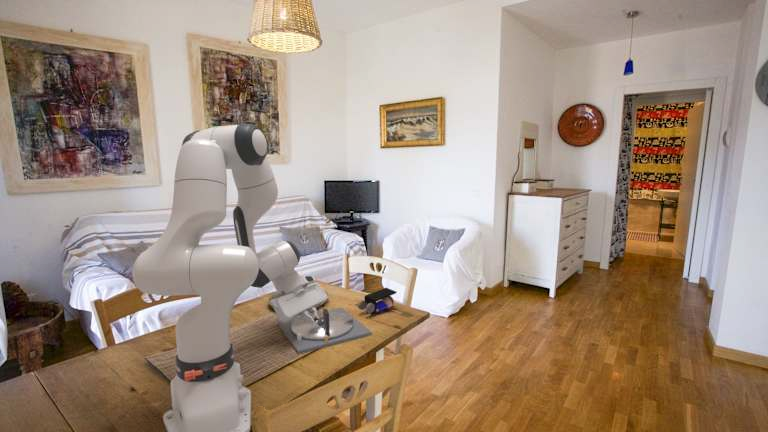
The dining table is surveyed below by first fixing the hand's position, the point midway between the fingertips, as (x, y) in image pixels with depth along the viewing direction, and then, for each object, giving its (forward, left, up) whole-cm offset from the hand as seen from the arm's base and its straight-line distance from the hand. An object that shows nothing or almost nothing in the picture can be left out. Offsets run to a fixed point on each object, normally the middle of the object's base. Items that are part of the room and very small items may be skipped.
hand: (315, 322), depth 121 cm
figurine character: (+10, -29, -6) cm, 31 cm away
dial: (+6, -5, -5) cm, 9 cm away
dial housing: (+6, -5, -6) cm, 10 cm away
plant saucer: (+34, -5, -6) cm, 35 cm away
